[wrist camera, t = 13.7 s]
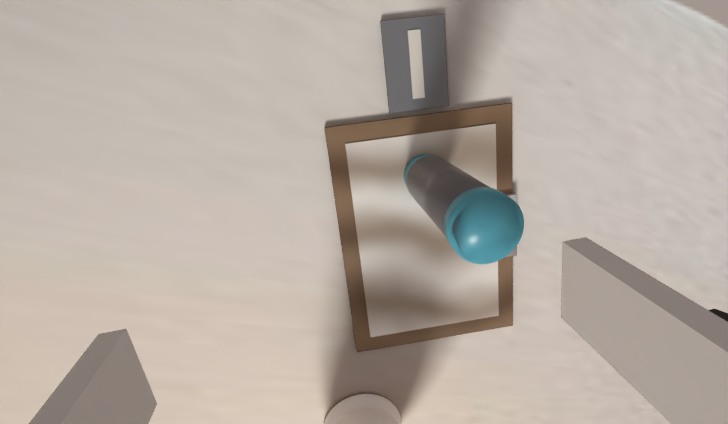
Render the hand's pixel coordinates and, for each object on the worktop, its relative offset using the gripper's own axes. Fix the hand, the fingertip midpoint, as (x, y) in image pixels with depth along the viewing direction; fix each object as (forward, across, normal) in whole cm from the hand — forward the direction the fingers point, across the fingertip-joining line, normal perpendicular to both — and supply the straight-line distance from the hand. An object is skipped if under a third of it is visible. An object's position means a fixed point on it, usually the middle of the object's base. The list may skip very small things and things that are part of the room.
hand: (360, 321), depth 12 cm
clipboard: (+24, +8, -9) cm, 27 cm away
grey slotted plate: (+24, +9, +6) cm, 26 cm away
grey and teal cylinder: (+23, +8, -3) cm, 25 cm away
